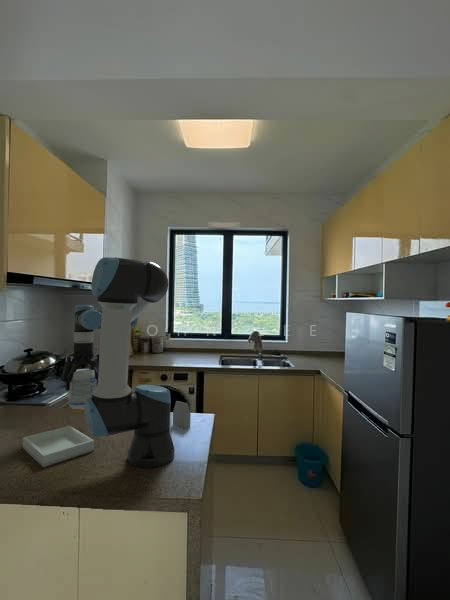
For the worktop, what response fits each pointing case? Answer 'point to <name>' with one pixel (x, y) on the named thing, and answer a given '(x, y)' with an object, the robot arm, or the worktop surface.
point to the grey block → (181, 415)
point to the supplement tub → (82, 387)
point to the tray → (57, 445)
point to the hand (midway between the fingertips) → (82, 396)
